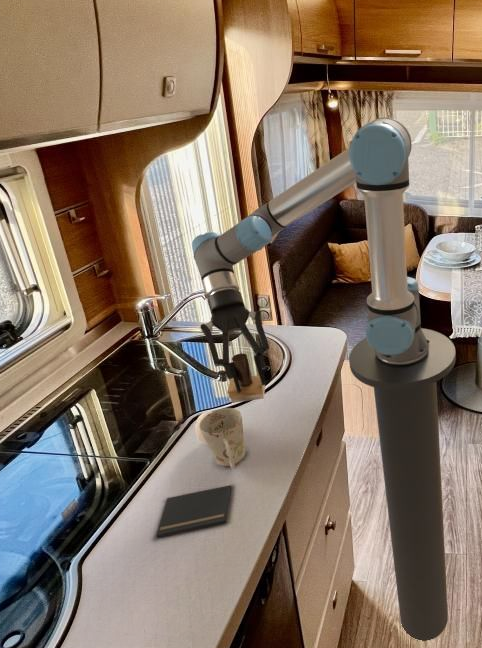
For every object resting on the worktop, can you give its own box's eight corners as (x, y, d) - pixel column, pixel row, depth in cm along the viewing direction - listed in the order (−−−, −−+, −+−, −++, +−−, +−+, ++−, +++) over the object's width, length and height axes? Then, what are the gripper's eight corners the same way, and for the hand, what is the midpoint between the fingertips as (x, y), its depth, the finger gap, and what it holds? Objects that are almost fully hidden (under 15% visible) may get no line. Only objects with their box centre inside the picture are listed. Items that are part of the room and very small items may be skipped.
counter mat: (231, 487, 101) (230, 484, 101) (225, 522, 93) (225, 520, 93) (168, 500, 99) (167, 497, 98) (156, 537, 91) (155, 535, 91)
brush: (266, 386, 118) (257, 349, 114) (264, 398, 114) (255, 360, 109) (233, 391, 117) (223, 353, 112) (230, 403, 113) (220, 365, 108)
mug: (245, 438, 114) (236, 403, 110) (260, 471, 105) (250, 434, 100) (207, 453, 110) (196, 417, 106) (219, 489, 101) (207, 451, 96)
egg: (233, 440, 114) (225, 412, 110) (205, 454, 110) (196, 426, 107) (222, 428, 118) (214, 400, 115) (195, 441, 114) (186, 413, 111)
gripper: (261, 292, 124) (290, 379, 118) (185, 310, 117) (211, 404, 111) (262, 279, 118) (292, 370, 111) (180, 298, 110) (208, 396, 104)
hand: (251, 387), depth 111 cm, fingers closed on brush, 5 cm apart
